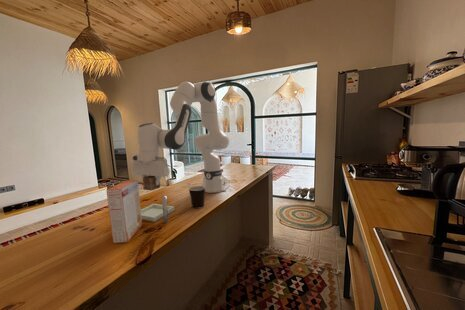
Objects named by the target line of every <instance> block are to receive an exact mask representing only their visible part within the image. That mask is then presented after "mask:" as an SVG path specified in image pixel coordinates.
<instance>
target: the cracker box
mask: <svg viewBox="0 0 465 310" xmlns="http://www.w3.org/2000/svg"><path fill="white" fill-rule="evenodd" d="M139 189H140V188H139V181H138V179H133V180H132V179H131V180H130V179H128V180H126V179H125V180H124V181H122V182H120V183H118V184H115V185H114V186H112V187H110V188H108V189H106V197H107V206H108V213H109V219H110V228H111V235H112V243H113V244H123V243H129V242H130V241H131V239H132V238H133V237H134V236H135V234H136V233H137V232H138V231H139V230H140V229H141V227H142V226H143V220H142V217H141V208H142V207H141V199H140V192H139V191H140V190H139Z"/></svg>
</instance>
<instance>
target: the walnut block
mask: <svg viewBox="0 0 465 310" xmlns="http://www.w3.org/2000/svg"><path fill="white" fill-rule="evenodd" d="M156 179H157V178H156V177H155V176H146V177H143V179H142V186H143V190H145V191H155V190H157V189H160V188H161V181H159V185H155V183H154V182H155V181H156Z"/></svg>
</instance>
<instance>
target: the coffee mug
mask: <svg viewBox="0 0 465 310" xmlns="http://www.w3.org/2000/svg"><path fill="white" fill-rule="evenodd" d="M188 191H189V197H190V203H191V208H193V209H201V208H203V207H204V206H205V195H206V192H205V187H203V185H197V186H192V187H189V189H188Z"/></svg>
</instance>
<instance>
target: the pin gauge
mask: <svg viewBox="0 0 465 310" xmlns="http://www.w3.org/2000/svg"><path fill="white" fill-rule="evenodd" d="M167 199H168V198H167V195H162V196H161V205H163V217H162V218H163V223H165V224H166V223H169V214H168V209H167V206H168V200H167Z"/></svg>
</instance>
